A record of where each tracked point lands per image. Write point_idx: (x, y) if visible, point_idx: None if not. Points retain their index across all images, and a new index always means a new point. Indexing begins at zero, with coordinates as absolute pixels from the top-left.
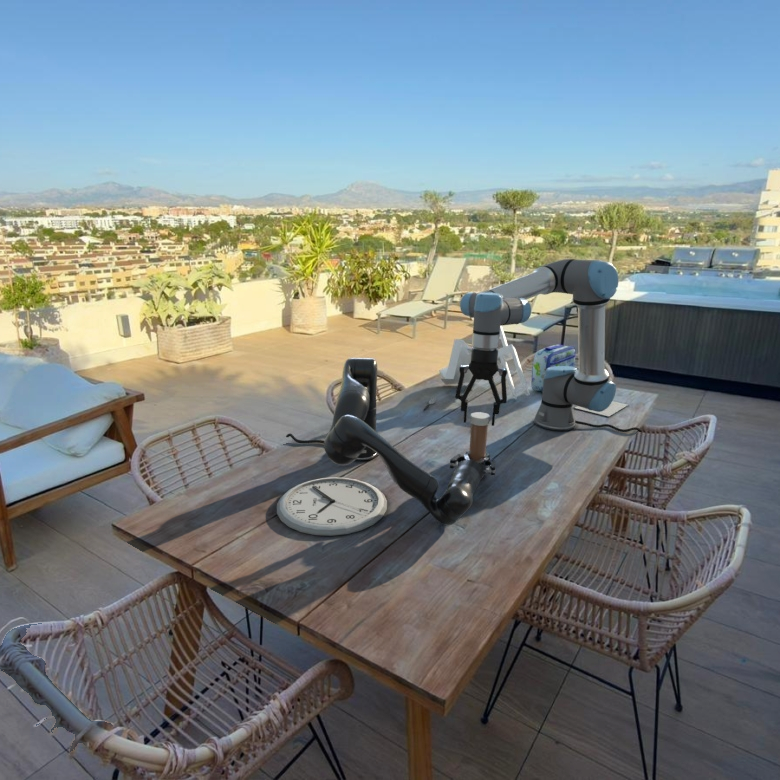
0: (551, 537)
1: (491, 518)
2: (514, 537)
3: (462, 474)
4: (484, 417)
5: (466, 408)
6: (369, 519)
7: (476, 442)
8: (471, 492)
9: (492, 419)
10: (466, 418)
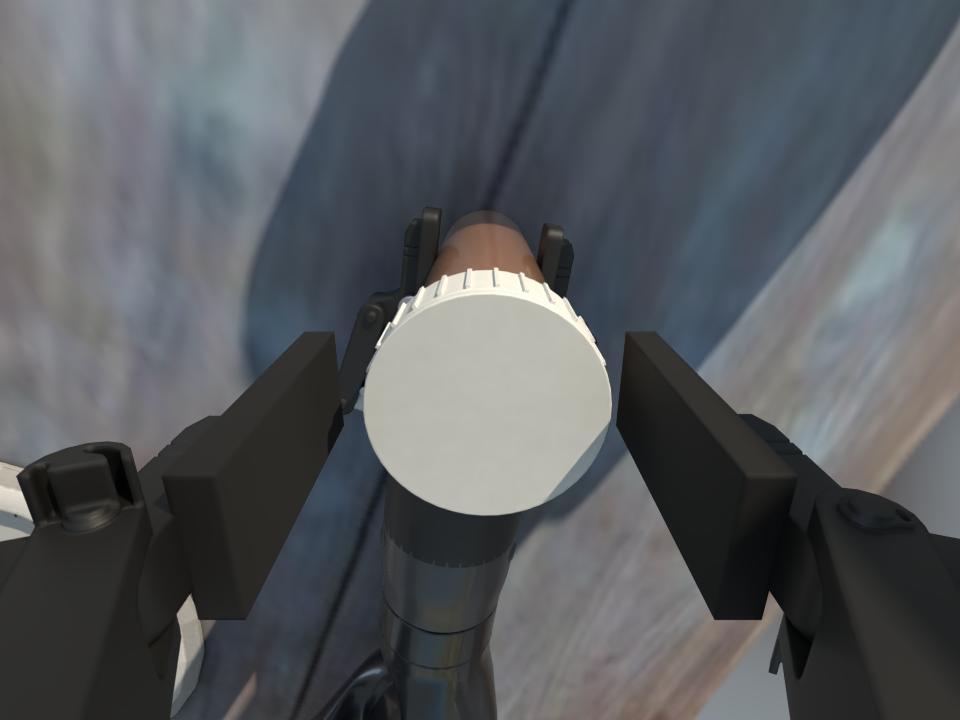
0: (750, 630)
1: (562, 577)
2: (631, 651)
3: (433, 644)
4: (544, 474)
5: (278, 538)
6: (175, 695)
7: None
8: (487, 689)
9: (640, 461)
10: (329, 423)
